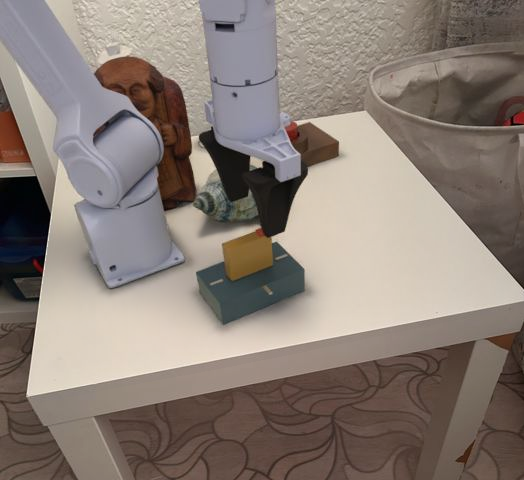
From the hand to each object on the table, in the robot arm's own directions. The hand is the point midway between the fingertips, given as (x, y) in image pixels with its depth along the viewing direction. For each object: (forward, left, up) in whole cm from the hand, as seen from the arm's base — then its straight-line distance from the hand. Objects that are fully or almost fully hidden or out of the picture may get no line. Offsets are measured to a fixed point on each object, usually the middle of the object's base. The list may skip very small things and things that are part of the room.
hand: (255, 214), depth 55 cm
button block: (+18, +23, -9) cm, 30 cm away
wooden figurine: (-4, +23, -9) cm, 25 cm away
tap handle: (-2, -1, -5) cm, 6 cm away
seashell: (+4, +14, -9) cm, 17 cm away
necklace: (+10, +33, -9) cm, 36 cm away
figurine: (-2, +32, -9) cm, 33 cm away
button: (+16, +22, -5) cm, 28 cm away
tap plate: (-2, -1, -8) cm, 9 cm away
